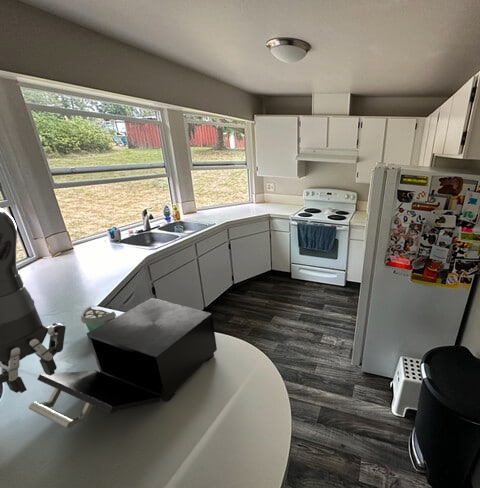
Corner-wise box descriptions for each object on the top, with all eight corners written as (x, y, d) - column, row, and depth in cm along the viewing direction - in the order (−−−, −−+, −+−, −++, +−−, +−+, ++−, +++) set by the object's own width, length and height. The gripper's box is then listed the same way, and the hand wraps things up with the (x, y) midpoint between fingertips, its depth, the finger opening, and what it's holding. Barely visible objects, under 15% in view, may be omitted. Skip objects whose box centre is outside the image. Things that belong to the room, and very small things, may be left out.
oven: (167, 405, 69) (155, 357, 64) (102, 378, 77) (86, 333, 71) (217, 354, 87) (211, 313, 82) (160, 336, 94) (151, 297, 89)
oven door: (152, 420, 65) (85, 440, 51) (85, 390, 72) (10, 401, 58) (161, 396, 67) (99, 409, 52) (96, 370, 74) (25, 375, 60)
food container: (78, 338, 92) (70, 315, 89) (96, 327, 98) (89, 306, 94) (104, 344, 90) (97, 321, 86) (121, 333, 95) (115, 311, 92)
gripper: (42, 290, 54) (66, 353, 60) (-72, 331, 41) (-27, 406, 47) (65, 297, 52) (87, 362, 58) (-48, 343, 39) (-4, 419, 45)
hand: (36, 381), depth 52 cm, fingers open, 4 cm apart
